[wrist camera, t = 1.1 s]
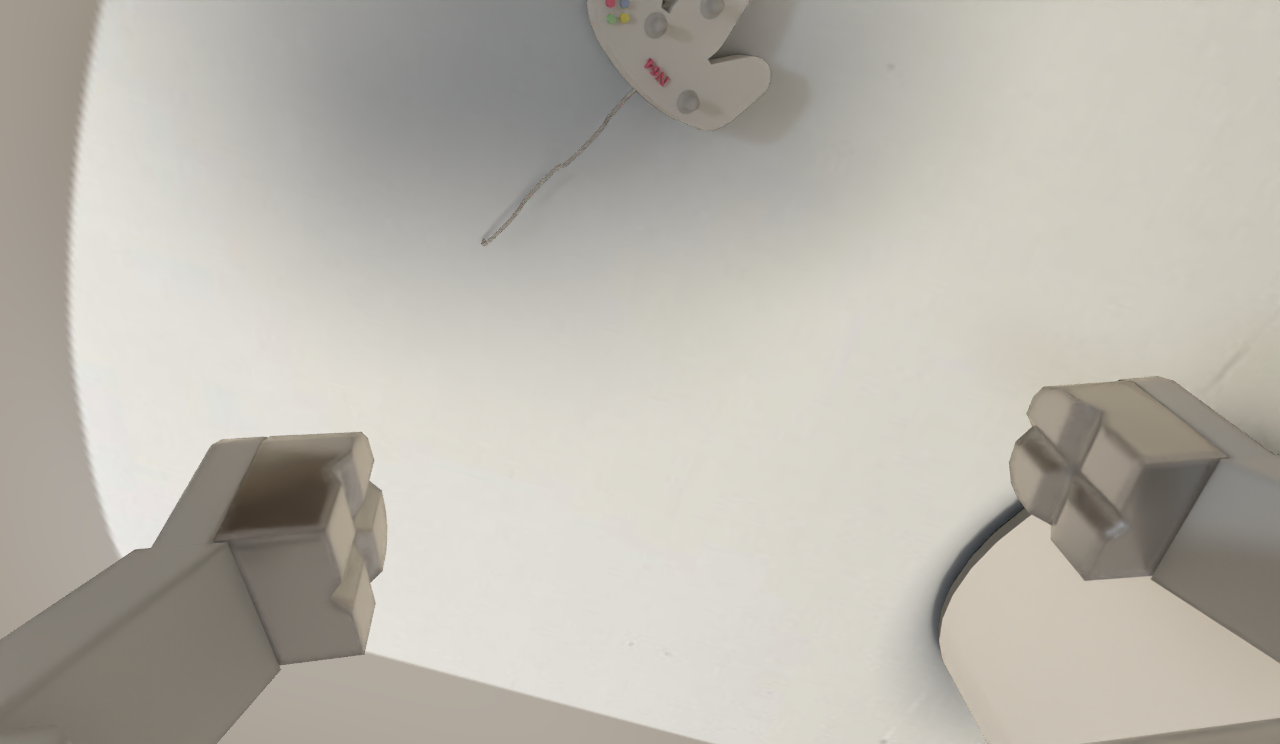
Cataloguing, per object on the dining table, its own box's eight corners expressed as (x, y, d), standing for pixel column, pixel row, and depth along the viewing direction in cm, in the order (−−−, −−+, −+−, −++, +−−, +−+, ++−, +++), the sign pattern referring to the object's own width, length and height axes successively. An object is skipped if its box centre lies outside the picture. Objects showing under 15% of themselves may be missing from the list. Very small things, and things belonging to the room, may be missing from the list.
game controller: (804, -14, 21) (835, -2, 19) (628, 299, 27) (637, 336, 25) (636, -122, 19) (650, -122, 17) (480, 240, 25) (476, 275, 22)
